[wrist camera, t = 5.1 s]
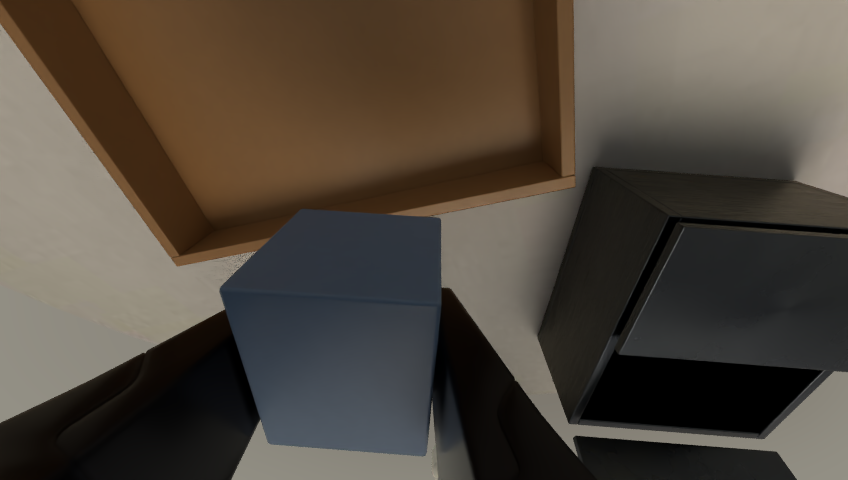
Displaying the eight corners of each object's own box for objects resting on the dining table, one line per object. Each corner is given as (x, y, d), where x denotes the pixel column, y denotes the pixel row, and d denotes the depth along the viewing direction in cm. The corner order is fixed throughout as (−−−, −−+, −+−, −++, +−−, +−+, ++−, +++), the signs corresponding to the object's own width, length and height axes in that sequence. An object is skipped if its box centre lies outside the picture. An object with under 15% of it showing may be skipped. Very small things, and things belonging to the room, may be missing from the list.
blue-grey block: (430, 342, 10) (426, 458, 7) (318, 334, 10) (267, 445, 7) (440, 216, 8) (441, 304, 5) (300, 207, 8) (215, 288, 5)
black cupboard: (684, 348, 23) (777, 455, 17) (537, 337, 23) (573, 439, 17) (795, 180, 17) (1009, 248, 11) (592, 166, 17) (683, 224, 11)
